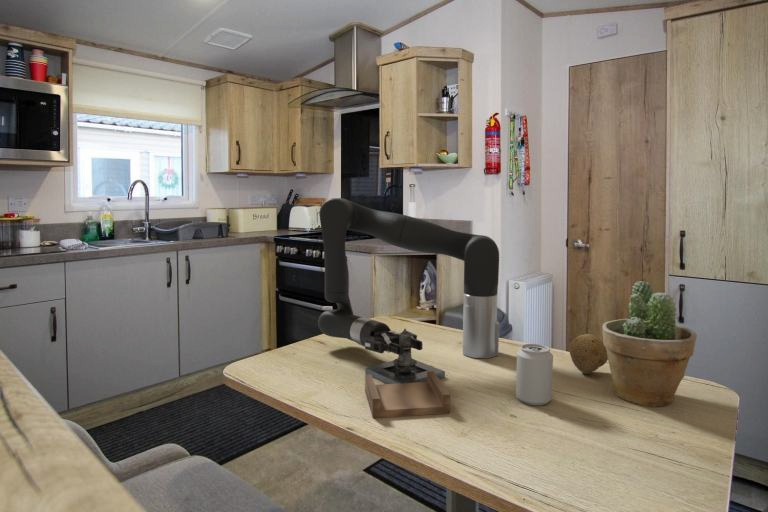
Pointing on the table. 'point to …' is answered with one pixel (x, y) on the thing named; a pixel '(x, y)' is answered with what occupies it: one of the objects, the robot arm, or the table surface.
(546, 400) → the can
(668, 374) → the potted plant
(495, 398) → the table surface
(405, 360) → the salt shaker
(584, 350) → the natural sponge
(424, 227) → the robot arm
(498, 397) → the table surface
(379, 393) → the brown piece
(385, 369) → the socket frame
